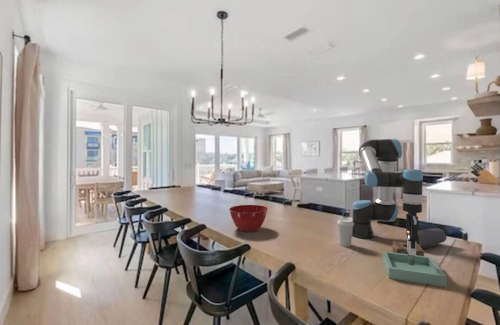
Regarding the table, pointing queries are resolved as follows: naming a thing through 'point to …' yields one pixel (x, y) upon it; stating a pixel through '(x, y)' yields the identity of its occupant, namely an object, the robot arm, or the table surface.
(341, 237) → the coffee cup
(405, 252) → the wooden socket block
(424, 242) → the bluetooth speaker
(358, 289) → the table surface
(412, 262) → the pin
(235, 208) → the mixing bowl
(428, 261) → the parts tray
